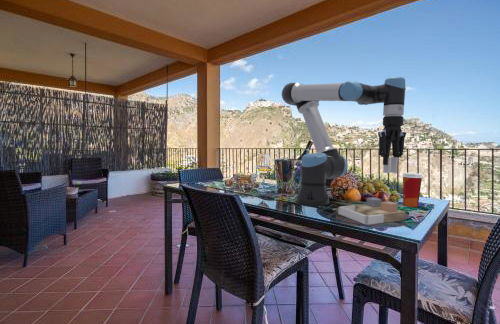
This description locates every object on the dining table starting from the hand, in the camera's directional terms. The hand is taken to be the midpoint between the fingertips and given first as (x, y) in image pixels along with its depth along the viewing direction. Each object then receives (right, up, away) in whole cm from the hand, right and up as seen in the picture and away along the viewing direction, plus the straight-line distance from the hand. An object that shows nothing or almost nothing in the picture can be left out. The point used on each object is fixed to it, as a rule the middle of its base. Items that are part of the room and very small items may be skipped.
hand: (390, 172), depth 113 cm
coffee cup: (+16, -16, +12) cm, 26 cm away
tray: (-17, -17, -9) cm, 26 cm away
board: (-8, -17, -6) cm, 20 cm away
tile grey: (-8, -14, -2) cm, 16 cm away
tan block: (-5, -14, -9) cm, 17 cm away
